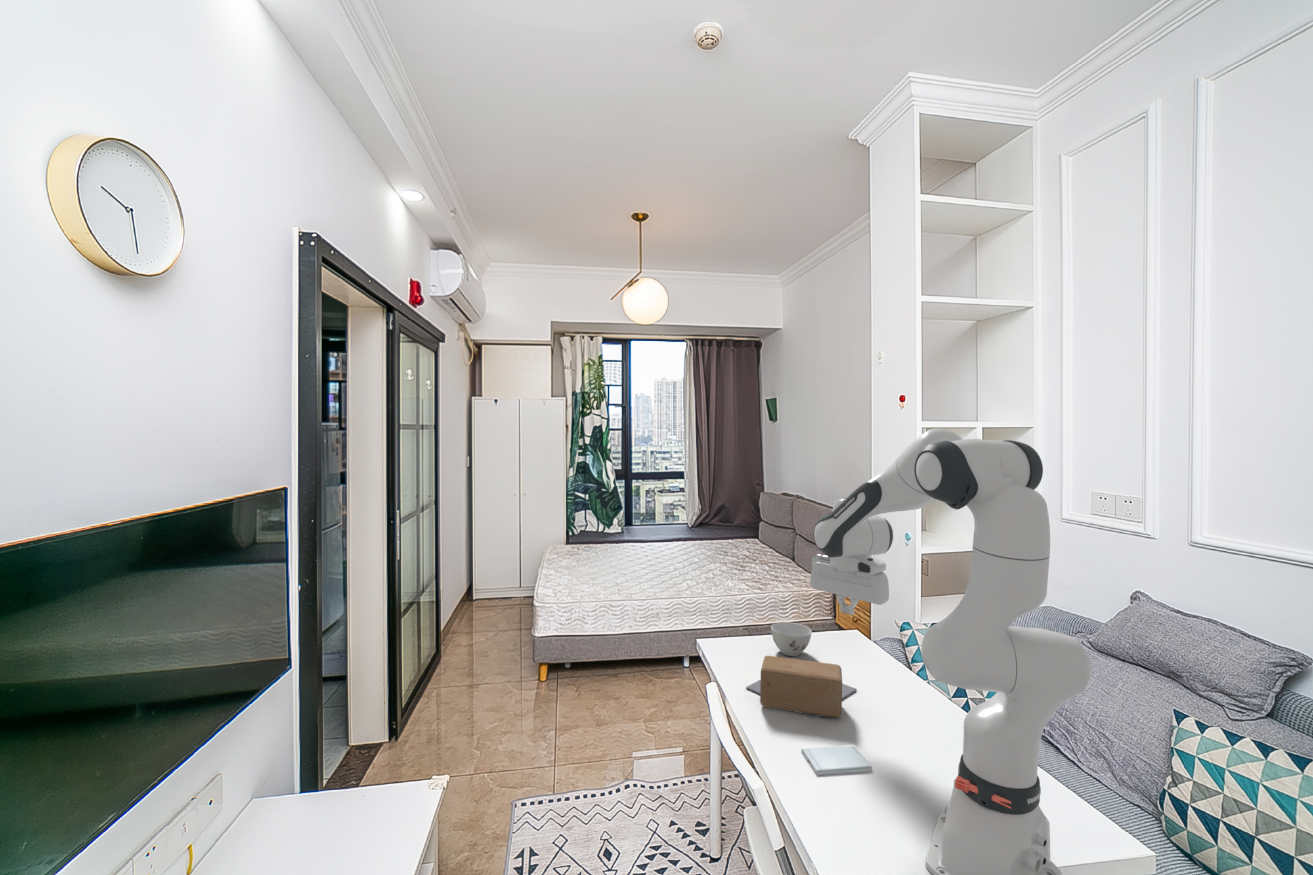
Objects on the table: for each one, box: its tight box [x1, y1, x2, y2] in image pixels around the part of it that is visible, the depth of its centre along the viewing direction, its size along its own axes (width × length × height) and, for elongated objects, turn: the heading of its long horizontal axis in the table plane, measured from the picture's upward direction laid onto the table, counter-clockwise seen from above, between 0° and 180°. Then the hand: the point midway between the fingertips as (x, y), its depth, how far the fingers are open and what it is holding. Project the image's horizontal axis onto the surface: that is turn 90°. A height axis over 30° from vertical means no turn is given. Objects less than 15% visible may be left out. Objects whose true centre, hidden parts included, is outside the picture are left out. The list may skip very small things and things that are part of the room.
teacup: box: [770, 621, 812, 657], centre depth 181 cm, size 15×12×8 cm
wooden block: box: [759, 655, 843, 719], centre depth 146 cm, size 10×10×20 cm
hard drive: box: [800, 744, 873, 776], centre depth 123 cm, size 2×8×12 cm
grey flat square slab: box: [745, 679, 858, 719], centre depth 156 cm, size 22×21×1 cm
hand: (847, 613), depth 145 cm, fingers closed
